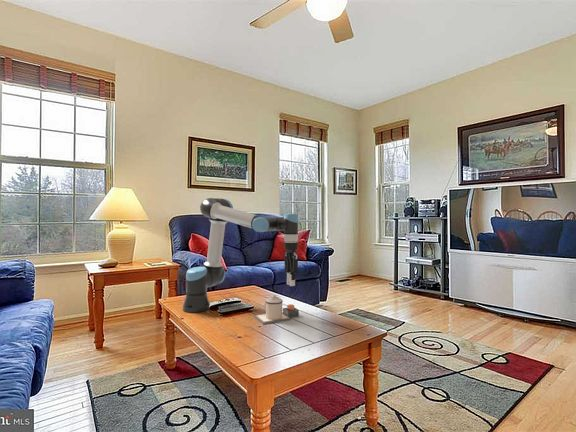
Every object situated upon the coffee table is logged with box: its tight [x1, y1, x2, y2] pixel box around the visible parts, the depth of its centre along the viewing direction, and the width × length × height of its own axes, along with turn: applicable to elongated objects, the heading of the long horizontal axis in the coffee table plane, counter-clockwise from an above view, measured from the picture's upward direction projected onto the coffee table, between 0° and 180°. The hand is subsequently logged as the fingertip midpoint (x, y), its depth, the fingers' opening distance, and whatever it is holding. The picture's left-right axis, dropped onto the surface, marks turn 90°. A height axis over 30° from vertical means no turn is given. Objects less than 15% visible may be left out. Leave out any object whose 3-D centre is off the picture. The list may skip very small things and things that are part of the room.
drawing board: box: [253, 312, 292, 325], centre depth 170 cm, size 13×16×1 cm
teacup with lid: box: [264, 294, 284, 320], centre depth 169 cm, size 12×9×12 cm
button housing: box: [282, 306, 300, 319], centre depth 175 cm, size 6×6×4 cm
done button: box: [286, 303, 295, 311], centre depth 175 cm, size 4×4×3 cm
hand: (290, 285), depth 174 cm, fingers open, 3 cm apart
